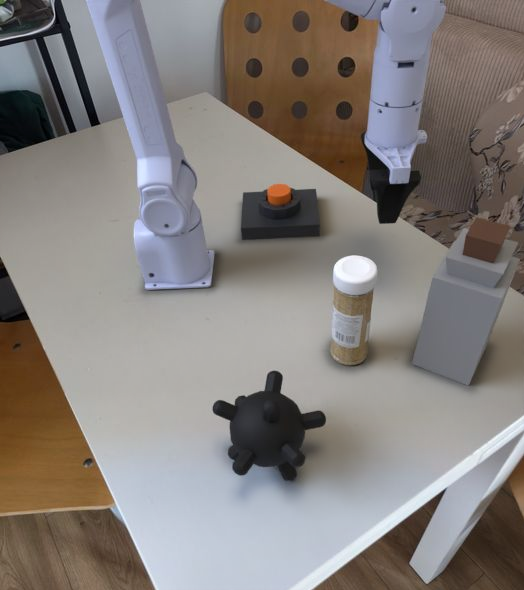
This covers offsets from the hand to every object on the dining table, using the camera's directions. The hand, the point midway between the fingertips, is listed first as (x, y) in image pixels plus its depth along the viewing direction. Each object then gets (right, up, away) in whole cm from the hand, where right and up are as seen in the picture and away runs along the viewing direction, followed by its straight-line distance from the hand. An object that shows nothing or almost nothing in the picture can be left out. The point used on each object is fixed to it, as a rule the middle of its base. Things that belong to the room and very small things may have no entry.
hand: (382, 204), depth 67 cm
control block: (-13, +2, +16) cm, 21 cm away
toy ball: (-15, -30, -12) cm, 36 cm away
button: (-13, +5, +14) cm, 19 cm away
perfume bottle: (+7, -20, -5) cm, 21 cm away
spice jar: (-5, -19, -3) cm, 20 cm away
